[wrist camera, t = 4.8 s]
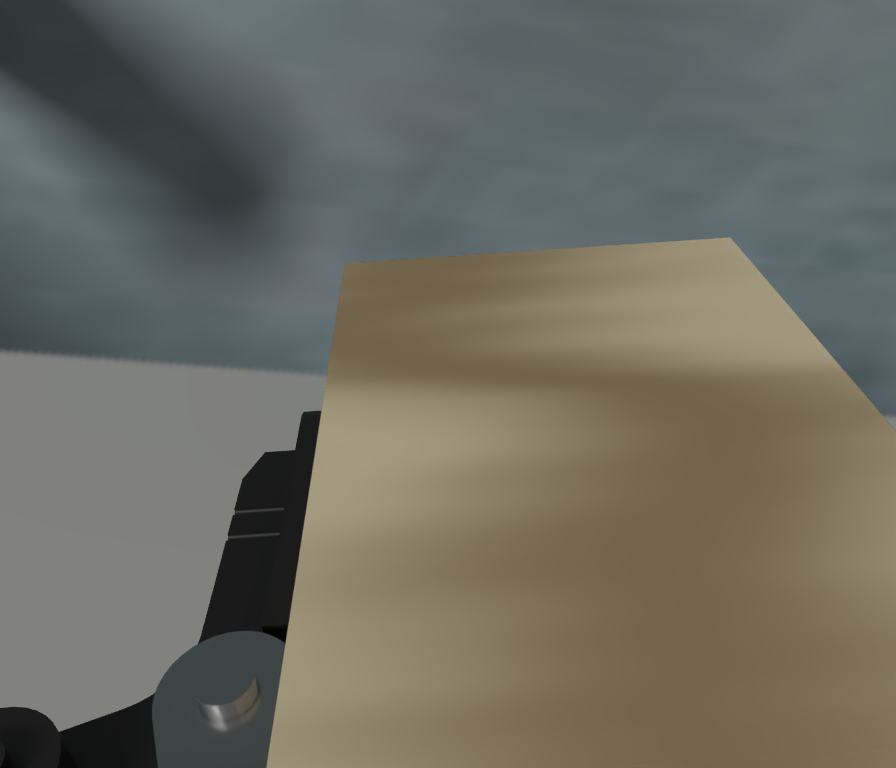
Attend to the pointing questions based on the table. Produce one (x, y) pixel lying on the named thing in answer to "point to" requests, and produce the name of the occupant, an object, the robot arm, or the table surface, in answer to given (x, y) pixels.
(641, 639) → the maple block
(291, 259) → the table surface
